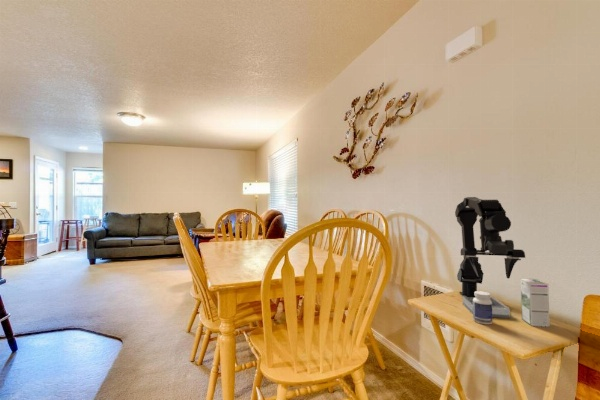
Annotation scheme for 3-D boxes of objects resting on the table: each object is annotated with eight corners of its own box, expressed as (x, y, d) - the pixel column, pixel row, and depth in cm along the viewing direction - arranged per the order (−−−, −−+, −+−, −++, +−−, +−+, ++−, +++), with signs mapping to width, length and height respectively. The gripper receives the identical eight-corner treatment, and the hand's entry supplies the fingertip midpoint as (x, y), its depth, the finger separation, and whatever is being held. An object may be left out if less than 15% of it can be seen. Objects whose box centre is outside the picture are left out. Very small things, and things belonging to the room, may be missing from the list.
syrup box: (550, 327, 94) (550, 283, 94) (530, 326, 95) (529, 282, 95) (539, 320, 99) (539, 278, 99) (520, 319, 100) (520, 278, 101)
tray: (462, 304, 115) (462, 295, 115) (493, 306, 113) (493, 297, 113) (474, 315, 104) (474, 306, 104) (509, 318, 101) (509, 308, 101)
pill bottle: (496, 325, 96) (496, 295, 96) (479, 325, 96) (479, 295, 96) (485, 318, 101) (485, 290, 101) (469, 318, 101) (469, 290, 101)
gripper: (468, 231, 98) (471, 277, 95) (531, 232, 93) (536, 281, 91) (459, 233, 109) (461, 275, 106) (515, 234, 104) (519, 278, 101)
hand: (493, 277), depth 101 cm, fingers open, 9 cm apart
